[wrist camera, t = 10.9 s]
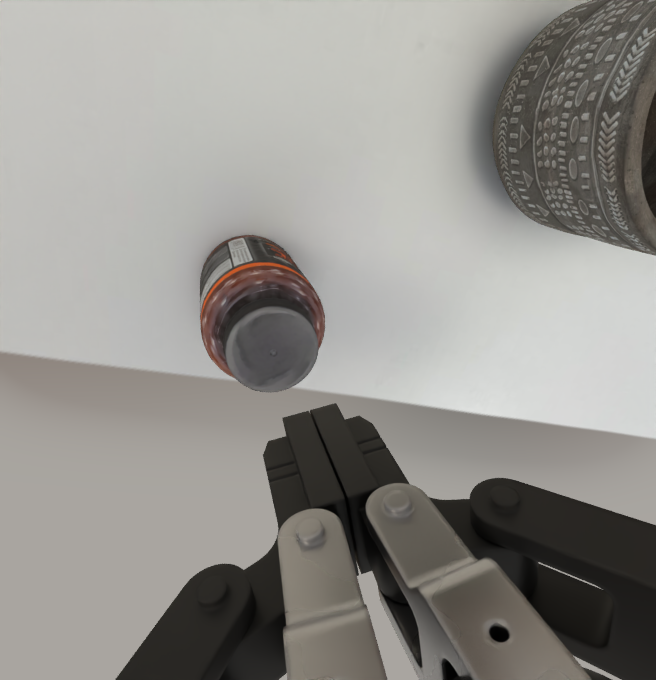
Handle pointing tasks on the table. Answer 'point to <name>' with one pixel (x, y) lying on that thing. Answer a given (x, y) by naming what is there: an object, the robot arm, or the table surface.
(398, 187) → the table surface
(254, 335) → the supplement bottle
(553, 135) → the planter
